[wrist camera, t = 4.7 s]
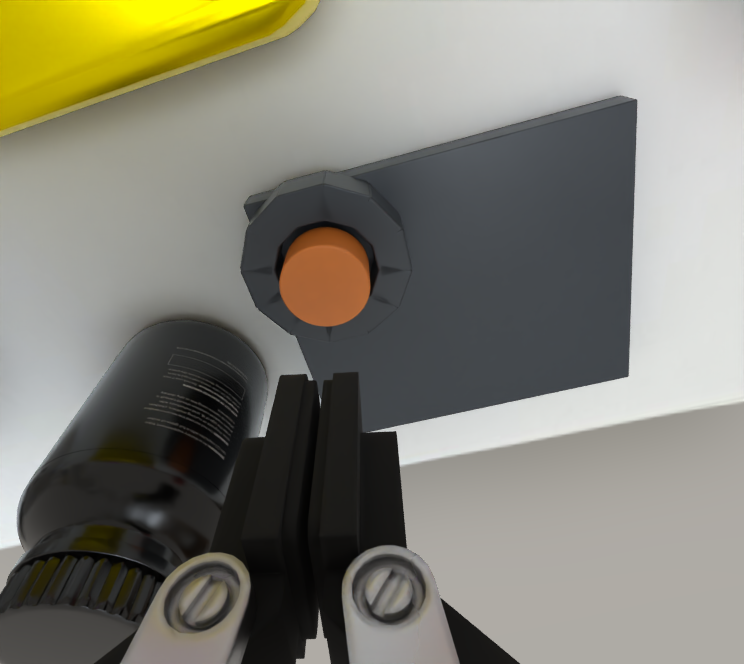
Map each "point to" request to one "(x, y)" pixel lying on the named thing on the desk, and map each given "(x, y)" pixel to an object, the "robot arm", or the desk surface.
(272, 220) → the scale
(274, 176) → the desk surface
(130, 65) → the element tile
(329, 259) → the tare button
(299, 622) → the robot arm
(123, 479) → the supplement bottle
